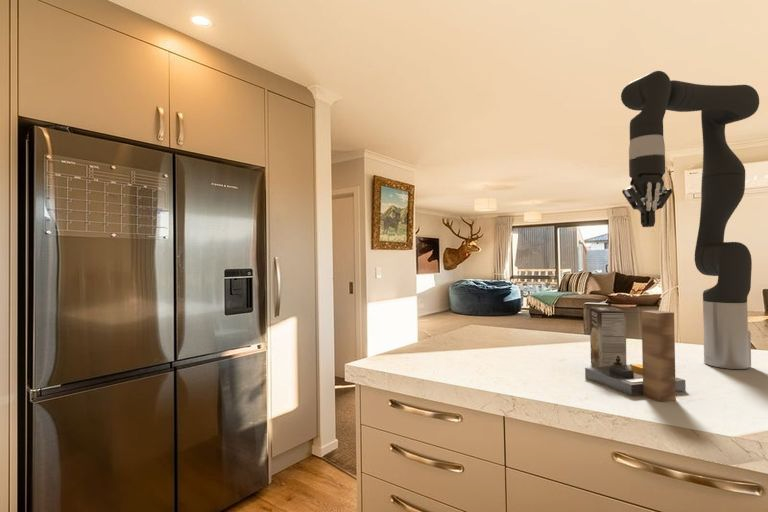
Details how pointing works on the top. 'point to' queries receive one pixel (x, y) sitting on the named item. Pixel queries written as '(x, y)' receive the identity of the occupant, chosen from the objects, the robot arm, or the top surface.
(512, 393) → the top surface
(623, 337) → the coffee box
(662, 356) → the walnut post
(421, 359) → the top surface
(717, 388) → the top surface
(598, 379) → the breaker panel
